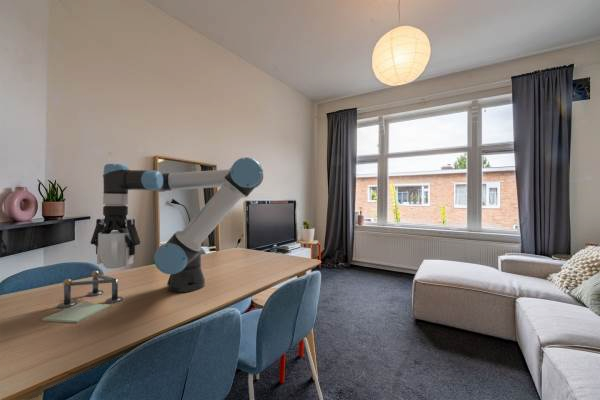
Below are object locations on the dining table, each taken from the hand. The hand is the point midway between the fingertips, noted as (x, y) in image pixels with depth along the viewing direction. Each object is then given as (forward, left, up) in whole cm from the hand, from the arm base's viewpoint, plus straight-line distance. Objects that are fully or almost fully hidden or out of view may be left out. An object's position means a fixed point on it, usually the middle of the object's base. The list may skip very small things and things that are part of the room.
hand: (115, 263), depth 94 cm
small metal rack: (+6, 0, -14) cm, 15 cm away
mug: (-1, 0, -2) cm, 2 cm away
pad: (+3, +11, -14) cm, 18 cm away
